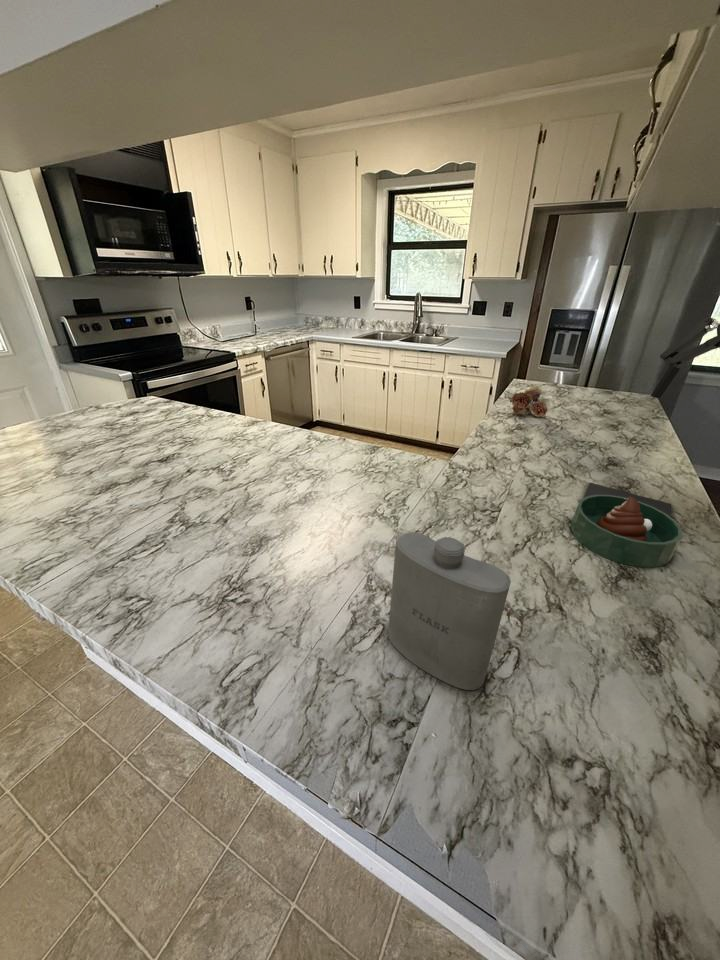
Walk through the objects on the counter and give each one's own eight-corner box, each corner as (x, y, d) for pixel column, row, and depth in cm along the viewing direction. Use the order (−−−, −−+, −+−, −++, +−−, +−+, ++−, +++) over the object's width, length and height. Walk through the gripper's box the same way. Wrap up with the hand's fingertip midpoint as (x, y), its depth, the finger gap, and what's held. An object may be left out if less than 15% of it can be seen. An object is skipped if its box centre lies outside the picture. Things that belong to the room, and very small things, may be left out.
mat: (670, 505, 97) (671, 503, 96) (670, 528, 88) (671, 526, 88) (589, 484, 106) (589, 482, 105) (581, 502, 97) (582, 500, 97)
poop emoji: (586, 524, 87) (599, 487, 83) (622, 523, 88) (637, 486, 84) (615, 552, 79) (631, 512, 74) (655, 551, 79) (674, 512, 75)
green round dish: (671, 534, 86) (681, 512, 83) (671, 581, 72) (683, 557, 70) (578, 506, 95) (585, 486, 92) (563, 543, 81) (570, 521, 79)
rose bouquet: (495, 396, 155) (532, 393, 143) (515, 381, 163) (551, 377, 152) (502, 427, 159) (539, 426, 148) (521, 411, 168) (557, 408, 156)
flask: (377, 641, 59) (385, 530, 49) (399, 618, 63) (410, 511, 53) (472, 703, 50) (503, 584, 41) (490, 672, 55) (521, 557, 45)
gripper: (686, 279, 75) (621, 385, 86) (858, 313, 58) (750, 441, 68) (703, 287, 79) (639, 388, 90) (871, 321, 61) (766, 441, 72)
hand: (687, 411), depth 79 cm, fingers open, 13 cm apart
